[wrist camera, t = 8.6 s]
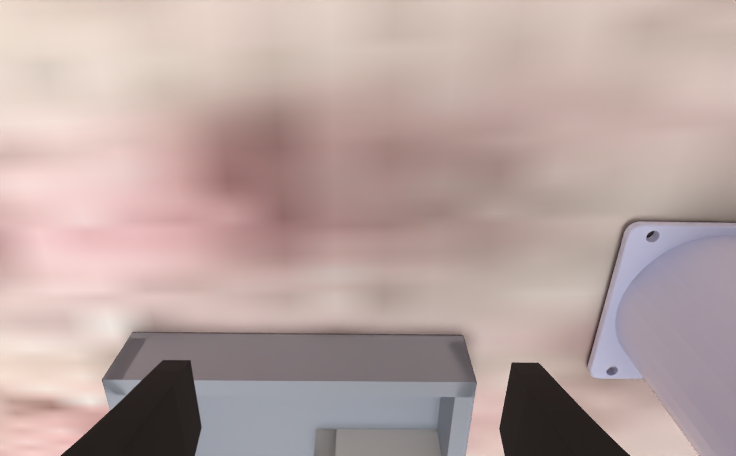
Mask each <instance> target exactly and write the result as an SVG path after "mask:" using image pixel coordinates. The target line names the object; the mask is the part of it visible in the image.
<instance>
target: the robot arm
mask: <svg viewBox="0 0 736 456" xmlns="http://www.w3.org/2000/svg"><path fill="white" fill-rule="evenodd" d="M651 231H654V234H653V235H652V236H651V237H649V238H646V236H647V234H648V233H650V232H651ZM610 367H613V368H611V369H608V368H610ZM607 369H608V370H607ZM588 370H589V372H590V374H591V376H592V377H594V378H598V379H644V380H645V381H646V382H647V384H648V385H649V387H650V388H651V389H652V391H653V392H654V393H655V395H656V396H657V398H658V399H659V400H660V402H661V403H662V405H663V406H664V407H665V409H666V410H667V412H668V413H669V414H670V416H671V417H672V418H673V420H674V421H675V423H676V424H677V425H678V427H679V428H680V430H681V431H682V432H683V434H684V435H685V437H686V438H687V439H688V441H689V442H690V444H691V445H692V446H693V448H694V449H695V450H696V452H697V453H698V455H699V456H736V223H709V222H634V223H632V224H630V225H629V226H628V227H627V228H626V230H625V232H624V235H623V239H622V243H621V246H620V250H619V253H618V257H617V261H616V264H615V268H614V272H613V275H612V279H611V283H610V286H609V290H608V294H607V297H606V301H605V305H604V308H603V312H602V316H601V319H600V323H599V327H598V330H597V334H596V338H595V341H594V345H593V348H592V352H591V356H590V359H589V363H588ZM201 428H202V426H201V420H200V414H199V408H198V402H197V396H196V390H195V384H194V378H193V372H192V366H191V360H162V361H161V362H160V363H159V364H158V365H157V366H156V367H155V368H154V369H153V370H152V371H151V372H150V373H149V374H148V375H147V376H146V377H145V378H143V379H142V380H141V381H140V382H139V383H138V384H137V385H136V386H135V387H134V388H133V389H132V390H131V391H130V392H129V393H128V394H127V395H126V396H125V397H124V398H123V399H122V400H121V401H120V402H119V403H118V404H117V405H116V406H115V407H114V408H113V409H112V410H111V411H109V412H108V413H107V414H106V415H105V416H104V417H103V418H102V419H101V420H100V421H99V422H98V423H97V424H96V425H94V426H93V427H92V428H91V429H90V430H89V431H88V432H87V433H86V434H85V435H84V436H83V437H81V438H80V439H79V440H78V441H77V442H76V443H75V444H74V445H72V446H71V447H70V448H69V449H68V450H67V451H65V452H64V453H63V454H62V455H61V456H195V453H196V449H197V445H198V441H199V437H200V433H201ZM499 429H500V434H501V439H502V444H503V449H504V454H505V456H630V455H629V454H628V453H627V452H626V451H625V450H623V449H622V448H621V447H620V446H619V445H618V444H617V443H616V442H615V441H614V440H613V439H612V438H611V437H610V436H609V435H608V434H607V433H606V432H605V431H604V430H603V429H602V428H601V427H600V426H599V425H598V424H597V423H596V422H595V421H594V420H593V419H592V418H591V417H590V416H589V415H588V414H587V413H586V412H585V411H584V410H583V409H582V408H581V407H580V406H579V405H578V404H577V403H576V402H575V401H574V400H573V399H572V397H571V396H570V395H569V394H568V393H567V392H566V391H565V390H564V389H563V388H562V387H561V386H560V385H559V384H558V383H557V382H556V381H555V379H554V378H553V377H552V376H551V375H550V374H549V373H548V372H547V371H546V370H545V369H544V368H543V367H542V366H541V365H540V364H539V363H512V365H511V370H510V375H509V381H508V386H507V391H506V397H505V402H504V407H503V412H502V418H501V423H500V428H499Z"/></svg>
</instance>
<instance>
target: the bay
mask: <svg viewBox="0 0 736 456" xmlns="http://www.w3.org/2000/svg"><path fill="white" fill-rule="evenodd" d="M162 360H191V366H192V372H193V378H194V384H195V390H196V396H197V402H198V408H199V414H200V420H201V426H202V428H201V433H200V437H199V441H198V445H197V449H196V453H195V456H466V449H467V443H468V436H469V429H470V423H471V416H472V410H473V403H474V397H475V390H476V384H477V382H476V378H475V375H474V371H473V368H472V365H471V361H470V358H469V354H468V351H467V347H466V344H465V341H464V337H463V336H450V335H339V334H228V333H132V334H131V336H130V337H129V339H128V340H127V342H126V343H125V345H124V346H123V348H122V350H121V351H120V353H119V354H118V356H117V357H116V359H115V360H114V362H113V363H112V365H111V366H110V368H109V369H108V371H107V373H106V374H105V376H104V377H103V379H102V382H103V386H104V390H105V393H106V397H107V401H108V404H109V408H110V411H111V410H112V409H113V408H114V407H115V406H116V405H117V404H118V403H119V402H120V401H121V400H122V399H123V398H124V397H125V396H126V395H127V394H128V393H129V392H130V391H131V390H132V389H133V388H134V387H135V386H136V385H137V384H138V383H139V382H140V381H141V380H142V379H143V378H145V377H146V376H147V375H148V374H149V373H150V372H151V371H152V370H153V369H154V368H155V367H156V366H157V365H158V364H159V363H160V362H161V361H162Z"/></svg>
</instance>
